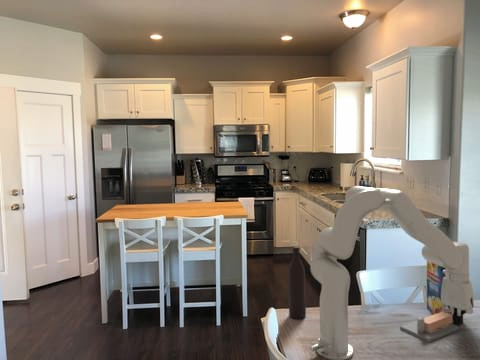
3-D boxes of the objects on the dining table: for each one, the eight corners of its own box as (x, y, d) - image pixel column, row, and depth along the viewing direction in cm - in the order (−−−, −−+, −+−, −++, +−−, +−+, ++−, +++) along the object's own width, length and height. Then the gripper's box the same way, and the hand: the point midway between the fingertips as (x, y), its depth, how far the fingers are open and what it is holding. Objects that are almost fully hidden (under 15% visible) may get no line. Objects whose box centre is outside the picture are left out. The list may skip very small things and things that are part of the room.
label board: (428, 341, 135) (428, 324, 134) (400, 329, 145) (399, 313, 145) (458, 329, 143) (458, 313, 143) (429, 318, 154) (429, 303, 153)
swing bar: (428, 331, 138) (428, 323, 138) (418, 327, 142) (418, 320, 142) (452, 322, 145) (452, 315, 145) (442, 318, 149) (442, 311, 149)
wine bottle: (306, 313, 162) (305, 245, 161) (305, 320, 155) (303, 249, 154) (290, 312, 164) (288, 245, 162) (288, 319, 157) (286, 248, 155)
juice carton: (459, 319, 152) (459, 261, 151) (441, 319, 152) (441, 262, 151) (443, 307, 164) (443, 254, 163) (426, 308, 164) (426, 254, 163)
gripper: (432, 273, 142) (432, 319, 143) (472, 283, 129) (472, 335, 130) (444, 269, 146) (444, 315, 147) (484, 279, 133) (484, 329, 134)
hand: (457, 324), depth 138 cm, fingers closed
